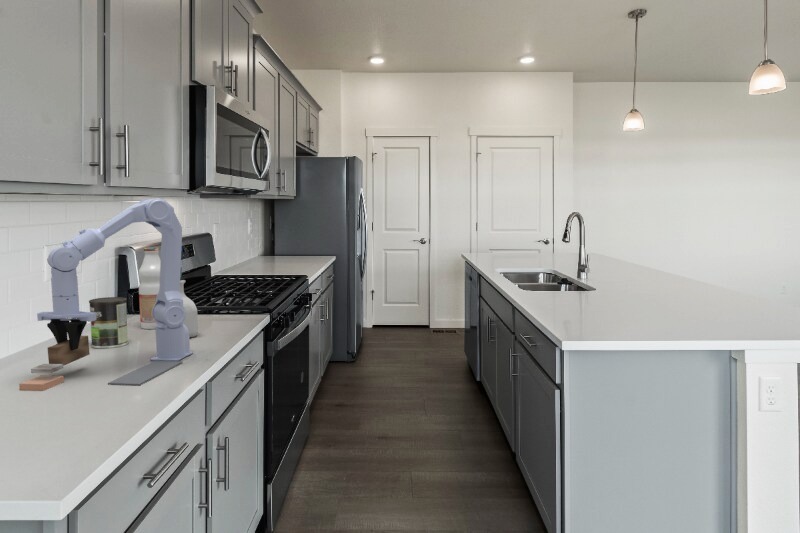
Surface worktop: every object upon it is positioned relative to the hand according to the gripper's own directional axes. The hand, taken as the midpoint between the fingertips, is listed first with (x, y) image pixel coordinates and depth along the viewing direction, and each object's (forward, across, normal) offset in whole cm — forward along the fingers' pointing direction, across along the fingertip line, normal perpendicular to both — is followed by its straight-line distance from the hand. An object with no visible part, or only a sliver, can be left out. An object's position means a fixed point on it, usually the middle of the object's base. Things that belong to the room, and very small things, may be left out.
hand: (68, 349), depth 152 cm
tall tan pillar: (+3, 0, -2) cm, 4 cm away
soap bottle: (+7, +6, +46) cm, 46 cm away
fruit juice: (+7, -11, +60) cm, 62 cm away
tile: (+6, 0, -6) cm, 9 cm away
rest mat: (+6, +19, +3) cm, 20 cm away
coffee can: (+7, -10, +32) cm, 35 cm away
